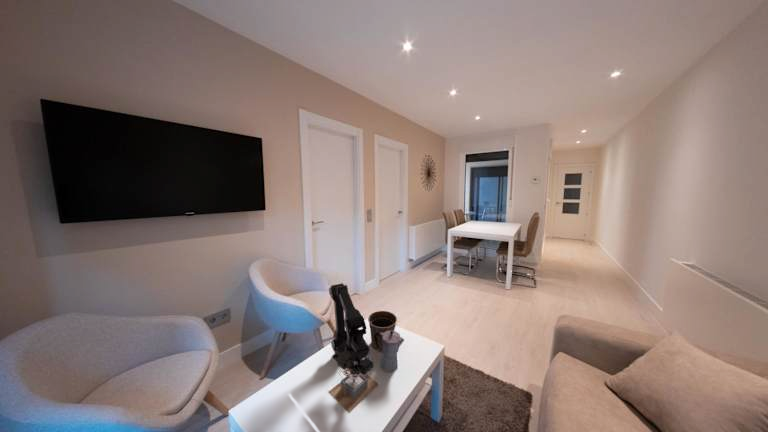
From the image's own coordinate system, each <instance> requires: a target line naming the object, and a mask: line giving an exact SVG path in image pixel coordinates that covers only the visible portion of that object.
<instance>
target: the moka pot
mask: <svg viewBox="0 0 768 432" xmlns="http://www.w3.org/2000/svg"><path fill="white" fill-rule="evenodd" d="M377 335H378V336H380V337H382V343H383V352H382V354H381V359H380V369H381V370H382V371H383V372H386V373H389V374H391V373H393V372H395V371H397V370H398V365H399V364H398V352H399V349H400V347H401V345H402V344H403V343H404V342H405V339H404V337H401V334H400V333H399V332H397V331H396V330H394V331H386V332H384V333H382V332H381V333H380V332H377V333H376V334H375V335H374V338H375V342H376V345H377V348H378V349H382V348H381V347H379V345H378V341H377V337H376V336H377Z"/></svg>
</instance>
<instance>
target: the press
mask: <svg viewBox="0 0 768 432" xmlns="http://www.w3.org/2000/svg"><path fill="white" fill-rule="evenodd" d="M359 377H360V378H361V379H363V380H364V381H363V382H362V383H361V384H360V385H359V386H358V387H357V388H356V389H354V390H353V389H352V388H351V387H349V386H348V385H347V384H346V383H345V381H346V380H347V379H348V378H349V374H347V375H346V376H345V377H344V378H342V379H341V380H340V382H341V389H342V390H343V394H344V395H345V396H349V397H350V398H351V399H352V400H355V399H356V398H357V397H358V396H359V395H360V394H361V393H362V392H363V391H364V390H365V389H366V388H367V387H368V380H367V379H366V378H365V377H364V376H362V375H361V374H360V373H359Z"/></svg>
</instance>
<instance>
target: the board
mask: <svg viewBox="0 0 768 432" xmlns="http://www.w3.org/2000/svg"><path fill="white" fill-rule="evenodd" d="M360 374H361V373H360ZM361 375H362V376H364V377H365V378H366V379H367V380H368V387H367V388H366V389H365V390H364V391H363V392H362V393H361V394H360V395H359V396H358V397H357V398H356V399H355V400H352V399H351V398H350V397H349V396H345V395H344V394H343V390H342V389H341V381H340V382H339V383H337V384H336V385H335V386H334V387H333V388H331V389H330V390H329V391H328V393H329V395H331V397H332V398H333V399H334V400H336V402H337V403H338V404H339V405H340V406H341V407H342V408H343V409H344V410H345V411H346V412H347V413H348V414H351V412H352V411H353V410H354V409H356V407H357V406H359V404H361V403H362V402H363V401H364V400H365V399H366V398H367V397H368V396H369V395H370V394H371V393H372V392H373V391H374V390H375V389H376V388H377V387H378V386H379V385H380V384H379V383H378V382H377V381H376V380H375V379H373V378H372V377H371V376H370V375H368V373H366V374H365V375H363V374H361Z"/></svg>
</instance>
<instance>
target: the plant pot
mask: <svg viewBox="0 0 768 432" xmlns="http://www.w3.org/2000/svg"><path fill="white" fill-rule="evenodd" d="M397 321H398V318H397V316H396V314H394V312H391V311H387V310H376V311H374V312H372V313H370V314H369V315H368V319H367V322H368V324H369V329H370V342H371V346H372V348H373V350H375V351H377V352H382V353H383V343H382V337H380V336H378V335H377V336H376V337H377V341H378V345H379V347H381V348H382V349H378V348H377V345H376V342H375V338H374V335H375V334H376V333H377V332H380V333H381V332H382V333H384V332H386V331H395V329H396V325H397Z"/></svg>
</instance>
